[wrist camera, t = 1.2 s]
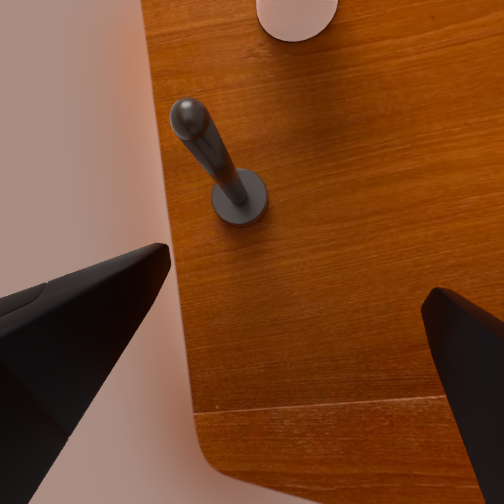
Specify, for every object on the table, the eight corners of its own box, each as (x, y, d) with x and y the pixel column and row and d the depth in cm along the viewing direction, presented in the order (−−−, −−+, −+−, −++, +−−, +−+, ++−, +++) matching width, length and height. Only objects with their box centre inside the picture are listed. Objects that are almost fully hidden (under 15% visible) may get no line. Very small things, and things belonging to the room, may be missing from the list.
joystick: (230, 236, 23) (151, 198, 9) (208, 190, 23) (100, 84, 9) (276, 212, 23) (273, 134, 8) (254, 167, 23) (214, 17, 9)
